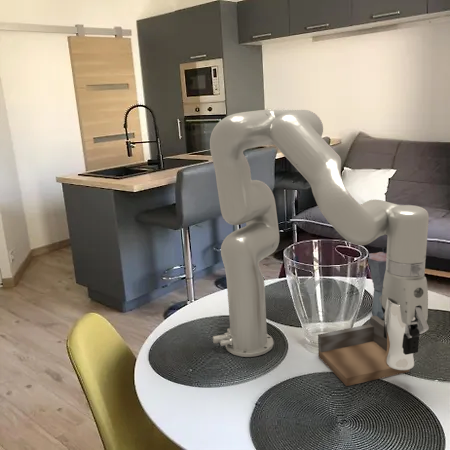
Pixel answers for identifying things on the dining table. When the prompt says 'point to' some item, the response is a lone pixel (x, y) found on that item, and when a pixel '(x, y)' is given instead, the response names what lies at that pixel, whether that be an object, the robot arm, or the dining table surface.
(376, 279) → the moka pot
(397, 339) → the beer glass
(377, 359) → the wooden corner tray
